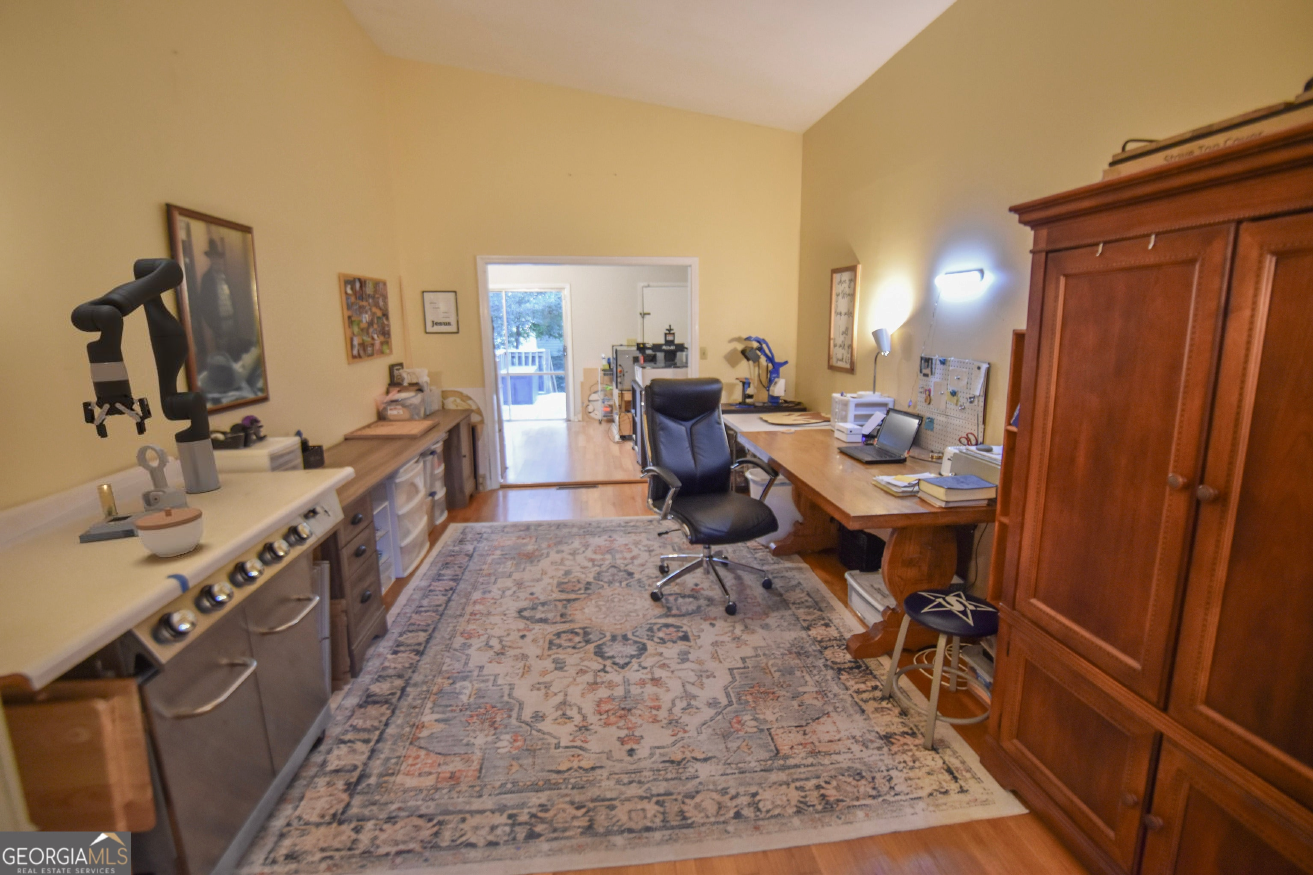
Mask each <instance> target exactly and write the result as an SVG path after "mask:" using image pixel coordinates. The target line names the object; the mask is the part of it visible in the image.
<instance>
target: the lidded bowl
mask: <svg viewBox="0 0 1313 875" xmlns="http://www.w3.org/2000/svg"><path fill="white" fill-rule="evenodd" d="M203 518H204V517H203V511H202V509H200V508H196V507H188V508H182V509H174V510H171V508H166V509H164V511H163V512H159V513H155V514H152V515H149V516H146V517H143V518H141V519H139V520H137V521H136V522H135V526H136V529H137V531H138V535H139V536H138V538H139V540H140V543H141V544H142V545H143V547H144V548H145V549H146V550H147V551H148V552H150V553H151V554H154V555H157V556H158V558H172V557H177V555H178V556H181V555H180V554H182V555H184V553H185V554H187V552H188V553H190V552H192V551H193V549H194V548H195V549H196V546H197V545H198V544H199V543H200V542H201V539H202V537H203V534H204V520H203ZM195 549H194V550H195ZM189 551H190V552H189Z"/></svg>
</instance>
